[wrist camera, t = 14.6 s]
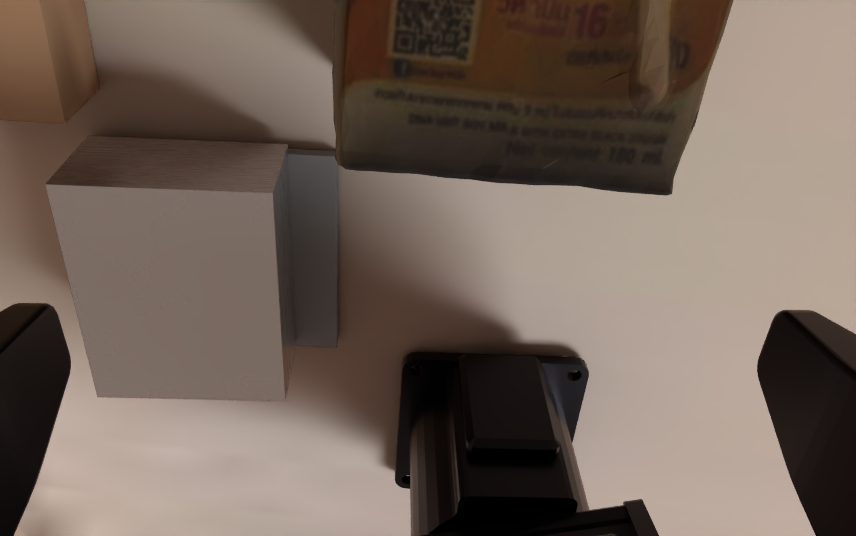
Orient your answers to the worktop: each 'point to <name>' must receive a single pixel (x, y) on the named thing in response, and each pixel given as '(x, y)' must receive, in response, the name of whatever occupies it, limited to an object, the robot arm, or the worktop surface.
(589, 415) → the worktop surface
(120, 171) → the grey rectangular box
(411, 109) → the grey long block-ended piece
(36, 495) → the worktop surface
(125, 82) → the worktop surface
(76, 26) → the plane body
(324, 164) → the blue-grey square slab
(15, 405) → the robot arm
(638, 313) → the worktop surface
